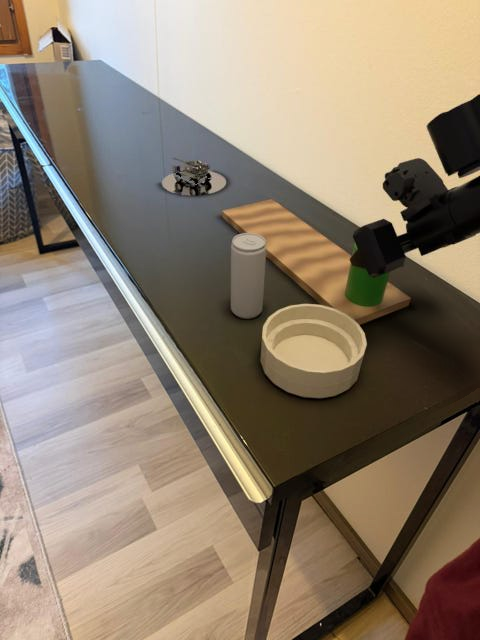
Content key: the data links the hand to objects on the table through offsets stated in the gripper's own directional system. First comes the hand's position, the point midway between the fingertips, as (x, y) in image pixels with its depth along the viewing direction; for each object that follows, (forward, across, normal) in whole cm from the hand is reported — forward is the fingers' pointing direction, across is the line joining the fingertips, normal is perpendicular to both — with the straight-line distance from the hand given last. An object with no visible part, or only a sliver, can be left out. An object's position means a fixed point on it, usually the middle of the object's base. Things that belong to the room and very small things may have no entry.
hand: (374, 253), depth 65 cm
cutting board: (+18, -1, -5) cm, 19 cm away
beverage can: (+12, +16, +1) cm, 21 cm away
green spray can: (+6, 0, +5) cm, 8 cm away
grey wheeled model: (+45, 0, -33) cm, 56 cm away
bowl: (+2, +16, +10) cm, 19 cm away
